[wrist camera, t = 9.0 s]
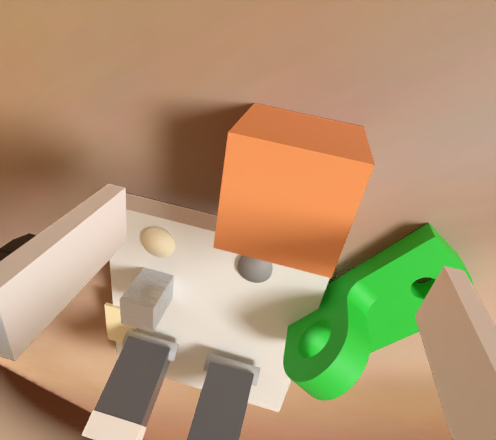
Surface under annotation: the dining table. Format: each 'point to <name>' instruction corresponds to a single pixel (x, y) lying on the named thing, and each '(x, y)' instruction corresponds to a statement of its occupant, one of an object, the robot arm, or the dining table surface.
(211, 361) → the lever plain
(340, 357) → the mechanical part
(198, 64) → the dining table surface
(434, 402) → the dining table surface
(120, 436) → the lever tagged
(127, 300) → the post
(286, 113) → the cap
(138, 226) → the panel
